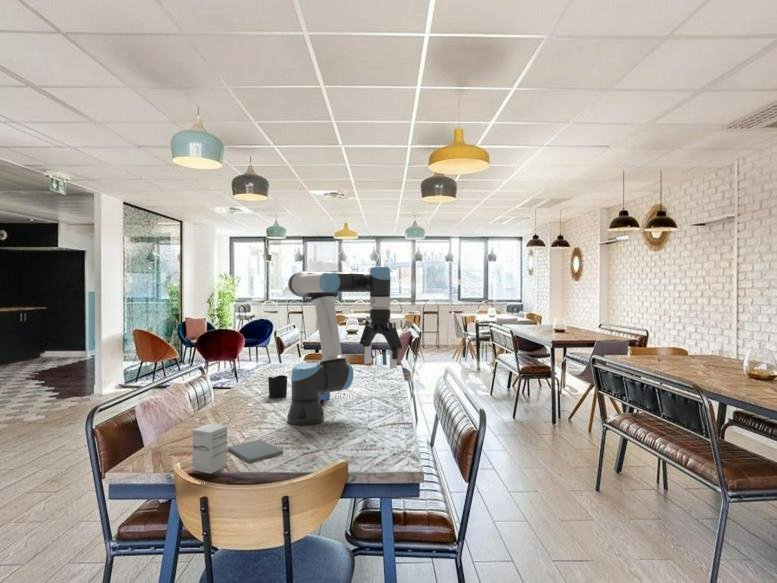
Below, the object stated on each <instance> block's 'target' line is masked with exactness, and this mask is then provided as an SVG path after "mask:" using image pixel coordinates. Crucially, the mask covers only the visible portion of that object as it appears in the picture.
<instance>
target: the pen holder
mask: <svg viewBox="0 0 777 583" xmlns="http://www.w3.org/2000/svg"><path fill="white" fill-rule="evenodd" d="M267 379H268V381H267V382H268V397H269V398H271V399H283V398H286V397H287V394H288V392H287V391H288V376H287V375H283V374H281V375H277V376H274V377H272V376H268V378H267Z"/></svg>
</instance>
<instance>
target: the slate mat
mask: <svg viewBox="0 0 777 583" xmlns="http://www.w3.org/2000/svg"><path fill="white" fill-rule="evenodd" d="M227 451H229V452H231V453H232V452H233V454H234V455H236V456H237V455H238V456H237V457H239V458H241V459H243V460H245V461H246V462H248V463H253V461H254V462H257V460H258V461H260V460H264V458H265V459H268V457H269V458H272V457H275V455H276V456H279V455H283V454H284V450H283V449H281V448H279V447H277V446H275V445H273V444H271V443H270V442H267V441H264V440H263V439H260V438H259V439H255V440H251V441H246V442H243V443H239V444H234V445H230V446H227ZM282 453H283V454H282ZM278 454H279V455H278Z"/></svg>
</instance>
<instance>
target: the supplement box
mask: <svg viewBox="0 0 777 583" xmlns="http://www.w3.org/2000/svg"><path fill="white" fill-rule="evenodd" d="M227 466H228V426H227V425H220V424H215V423H207V424H204V425H202V426H199V427H196V428H194V429H192V471H194V472H200V473H205V474H209V475H212V474H213V473H215V472H217V471H220V470H221V469H223V468H225V467H227Z"/></svg>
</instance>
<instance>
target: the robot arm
mask: <svg viewBox="0 0 777 583" xmlns="http://www.w3.org/2000/svg"><path fill="white" fill-rule="evenodd" d="M391 278H392V277H391V268H390V267H389V266H380V265H379V266H371V267H370V269H369V272H359V271H357V272H355V271H354V272H351V271H350V272H343V271H342V272H341V271H325V270H324V271H302V270H301V271H298V272H296V273H293V274H292V275H290V277H289V279H288V283H287V286H288V290H289V291H290V292H291V294H292V295H295V296H296V297H300V298H310V302H311V303H312V304H313V305H314V306H315V312H316V319H317V320H316V321H317V327H318V335H319V342H320V349H321V356H322V358H321V359H320V360H319V362H315V361H314V362H306V363H301V364H298V365H295V366H294V367H293V368H292V370H291V377H290V380H291V403H290V406H289V410H288V413H287V418H286V419H287V423H288V424H290V425H295V426H309V425H311V424H312V425H316V423H317V424H320V423H323V421H324V420H325V412H324V410H323V408H322V403H321V401H320V393H327V392H330V393H333V392H341V391H346V390H348V389H349V388H351V385H352V383H353V380H354V369H353V366H352V364H351V363H349V362H347V359H346V358H347V357H345V355H343V354H342V353H343V352H342V346H341V340H340V332H339V326H338V319H337V318H338V317H337V312H336V305H335V303H336V301H337V300H338V297H339V296H340V294H341V293H369V307H370V310H369V319H371V320H365V322H364V327H363V328H364V329H363V332H362V334H361V337H360V340H359V344H360V345H362V346H363V356H364V359H363V360H364V365H370V364H371V363H372V345H371V344H372V342H373V340H374V339H375V337H376V335H377V334H380V335H382V336H383V337H384V338H385V340H386V342H387V345H389V347H390V350H389V369H390V370H392V369H397V359H398V356H399V355H398V350H400V349H401V350H402V349H403V345H402V341H401V339H400V337H399V333H398V331H397V326H396V322H395V321H393V322H392V321H391V322H390V319H391V309H390V307H391V282H392V281H391ZM312 425H311V426H312Z"/></svg>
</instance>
